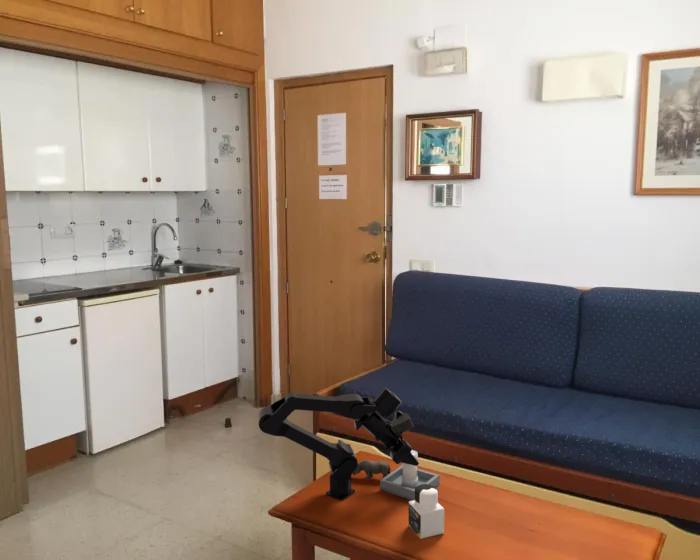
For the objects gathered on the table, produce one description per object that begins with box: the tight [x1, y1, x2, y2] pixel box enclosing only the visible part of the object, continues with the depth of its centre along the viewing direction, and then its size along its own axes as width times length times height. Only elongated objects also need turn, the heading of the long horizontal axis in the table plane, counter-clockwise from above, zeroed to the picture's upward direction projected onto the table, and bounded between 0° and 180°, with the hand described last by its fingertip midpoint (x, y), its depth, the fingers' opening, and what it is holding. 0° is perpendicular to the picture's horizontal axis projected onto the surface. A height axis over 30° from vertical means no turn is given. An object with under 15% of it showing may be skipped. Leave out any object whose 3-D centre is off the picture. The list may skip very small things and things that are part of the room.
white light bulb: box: [401, 449, 419, 488], centre depth 193 cm, size 5×5×10 cm
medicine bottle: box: [408, 484, 445, 540], centre depth 170 cm, size 7×7×12 cm
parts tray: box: [379, 464, 441, 501], centre depth 194 cm, size 13×13×3 cm
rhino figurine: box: [352, 459, 392, 481], centre depth 200 cm, size 4×14×6 cm, turn 79°
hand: (414, 459), depth 193 cm, fingers open, 7 cm apart
